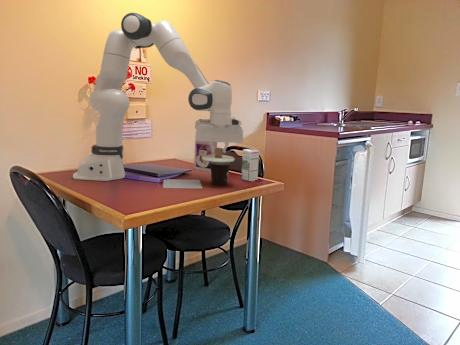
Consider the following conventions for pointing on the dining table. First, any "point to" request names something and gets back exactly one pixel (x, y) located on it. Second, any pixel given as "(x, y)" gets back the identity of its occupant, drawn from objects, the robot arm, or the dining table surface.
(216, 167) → the coffee mug
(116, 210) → the dining table surface
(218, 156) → the sage lid
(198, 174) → the dining table surface
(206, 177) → the dining table surface
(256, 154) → the syrup box
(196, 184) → the grey mat
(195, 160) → the greeting card
